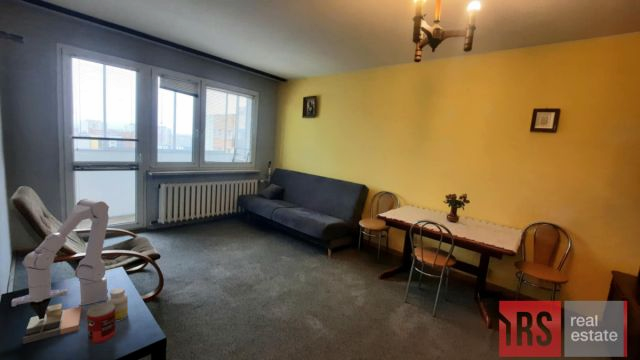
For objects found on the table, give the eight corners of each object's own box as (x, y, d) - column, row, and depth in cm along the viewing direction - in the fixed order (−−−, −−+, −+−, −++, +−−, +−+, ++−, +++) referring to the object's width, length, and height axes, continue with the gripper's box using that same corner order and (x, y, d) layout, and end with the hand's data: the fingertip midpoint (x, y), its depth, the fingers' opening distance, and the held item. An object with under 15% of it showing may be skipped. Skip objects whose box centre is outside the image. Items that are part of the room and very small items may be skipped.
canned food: (92, 332, 105) (91, 304, 104) (118, 327, 108) (117, 301, 107) (84, 346, 98) (83, 316, 97) (112, 341, 101) (111, 312, 100)
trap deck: (81, 310, 116) (81, 306, 116) (78, 329, 106) (78, 324, 106) (31, 322, 108) (31, 317, 108) (23, 343, 97) (22, 338, 97)
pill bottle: (114, 312, 117) (113, 286, 115) (131, 312, 118) (130, 286, 116) (104, 322, 111) (103, 294, 109) (121, 322, 111) (121, 295, 110)
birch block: (62, 312, 111) (62, 303, 111) (61, 318, 108) (60, 308, 108) (48, 316, 109) (47, 306, 108) (46, 321, 106) (46, 311, 105)
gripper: (8, 293, 97) (11, 330, 99) (64, 283, 106) (66, 317, 108) (13, 284, 103) (16, 319, 104) (67, 275, 111) (68, 307, 113)
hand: (42, 317), depth 106 cm, fingers closed
